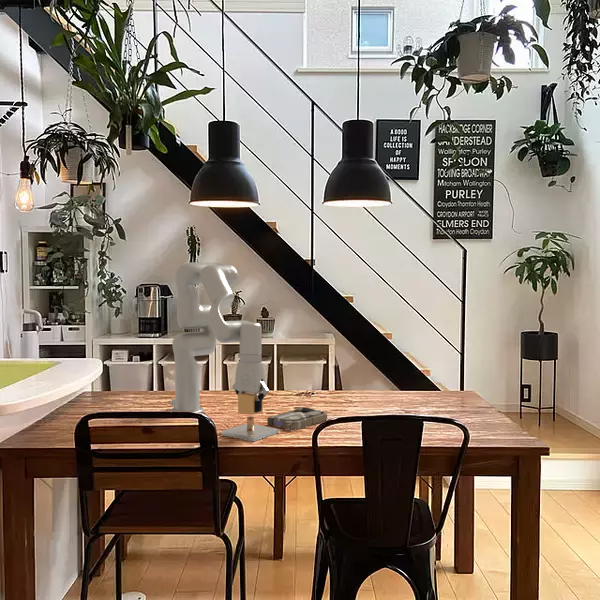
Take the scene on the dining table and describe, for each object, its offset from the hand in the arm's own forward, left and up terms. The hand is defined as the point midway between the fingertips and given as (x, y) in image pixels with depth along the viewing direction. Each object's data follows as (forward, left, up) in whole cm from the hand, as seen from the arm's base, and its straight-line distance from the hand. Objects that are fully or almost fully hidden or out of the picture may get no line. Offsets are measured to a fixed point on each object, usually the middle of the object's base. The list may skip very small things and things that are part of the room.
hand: (250, 409), depth 229 cm
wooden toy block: (0, 0, -1) cm, 1 cm away
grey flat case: (+2, +25, -9) cm, 26 cm away
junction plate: (0, 0, -8) cm, 8 cm away
